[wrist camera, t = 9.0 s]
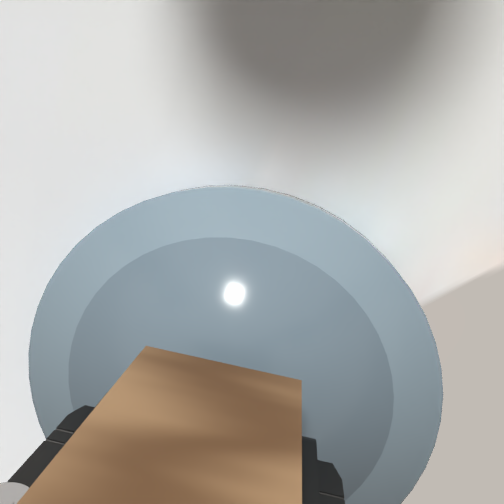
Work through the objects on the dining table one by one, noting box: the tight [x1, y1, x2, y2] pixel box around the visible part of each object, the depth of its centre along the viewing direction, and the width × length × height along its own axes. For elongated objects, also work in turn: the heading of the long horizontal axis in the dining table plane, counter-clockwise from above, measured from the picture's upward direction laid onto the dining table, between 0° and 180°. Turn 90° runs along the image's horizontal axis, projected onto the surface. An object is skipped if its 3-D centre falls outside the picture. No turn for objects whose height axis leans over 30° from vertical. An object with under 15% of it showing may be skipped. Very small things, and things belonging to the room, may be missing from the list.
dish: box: [29, 185, 443, 504], centre depth 15 cm, size 14×14×1 cm
